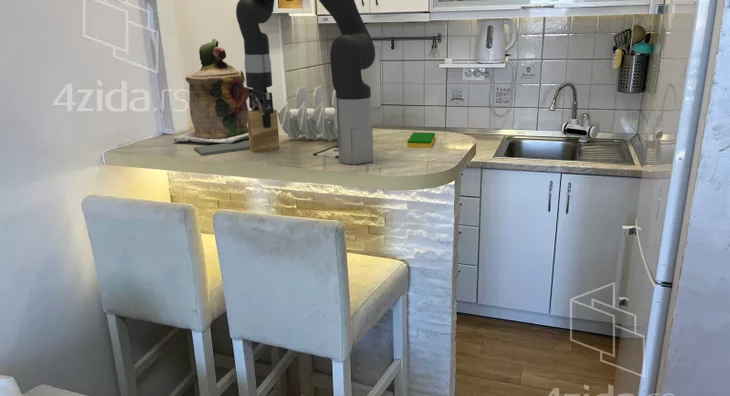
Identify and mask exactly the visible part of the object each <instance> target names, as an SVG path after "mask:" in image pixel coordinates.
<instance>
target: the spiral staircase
mask: <svg viewBox="0 0 730 396" xmlns="http://www.w3.org/2000/svg"><path fill="white" fill-rule="evenodd" d="M309 95H310V92H308V90H307V89H306V86H305V85H303V86H301V85H300V86H299V85H298V88H297V90H296V93H295V100H294V102H295V103H294V107H295V108H290V103H289V101H286V103H284V105H283V106H282V107H281V108H280V109H279V110H278V111H277V118H278V121H279V123H280V125H281V129H282V131H284V133H285V134H286V135H287V138H290V139H291V138H293V139H295V141H297V140H298V139H299V138H300V136H302V137H304V136H305V139H306V140H307V139H312V141H315V140H316V139H317V137H318V136H321V138H322V139H324V140H328V142H329V143H331V142H332V141H333V139H334V140H338V131H337V106H336V91H335V89H333V92H332V98H331V107H327V105H328V101H327V99H326V91H325V90H324V89H323V85H321V84H320V85H319V86H318V87H317V86H315V88H314V91H313V95H312V104H311V102H310V98H309V97H310V96H309ZM311 106H312V108H311Z"/></svg>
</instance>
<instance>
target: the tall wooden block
mask: <svg viewBox="0 0 730 396" xmlns="http://www.w3.org/2000/svg"><path fill="white" fill-rule="evenodd" d="M273 111H274V112H273V113H271V115H270V116H271V127H270V128H264V127H263V117H262V111H261V109H260V110H252V109H251V110H249V111H246V112H247V127H248V133H249V136H248V140H249V144H250V149H249V152H252V153H253V152H254V154H257V152H258V153H264V152H263V151H266V152H270V151H271V150H273V151H278V150H279V149H280V139H279V138H280V136H279V125H278V124H279V122H278V121H279V119H278V110H277V109H274V108H273ZM280 150H281V149H280ZM271 152H272V151H271Z"/></svg>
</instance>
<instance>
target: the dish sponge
mask: <svg viewBox="0 0 730 396" xmlns="http://www.w3.org/2000/svg"><path fill="white" fill-rule="evenodd" d="M435 140H436V133H435V132H417V131H416V132H415V131H414V132H412V133H411V135H410V137H409V138H408V140H407V145H406V146H407V148H411V149H412V148H416V149H417V148H419V149H420V148H421V149H431V148H433V147H432V146H433V145H434V142H435Z"/></svg>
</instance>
